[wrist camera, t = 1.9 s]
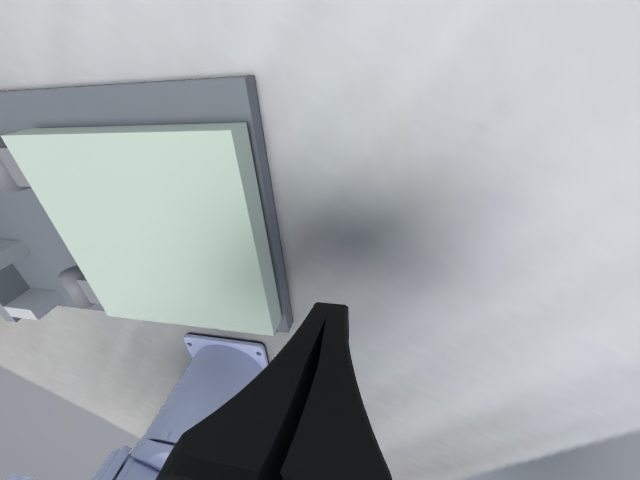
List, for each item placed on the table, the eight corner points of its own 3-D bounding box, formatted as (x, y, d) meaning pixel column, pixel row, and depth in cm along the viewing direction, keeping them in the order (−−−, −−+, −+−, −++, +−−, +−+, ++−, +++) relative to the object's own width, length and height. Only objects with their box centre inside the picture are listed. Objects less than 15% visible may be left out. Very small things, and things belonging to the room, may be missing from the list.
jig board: (292, 321, 25) (279, 358, 22) (43, 294, 31) (5, 320, 28) (254, 75, 16) (221, 82, 13) (-98, 97, 21) (-178, 106, 18)
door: (281, 317, 23) (274, 336, 22) (92, 296, 27) (74, 311, 25) (246, 122, 16) (230, 130, 14) (-10, 129, 19) (-44, 136, 18)
